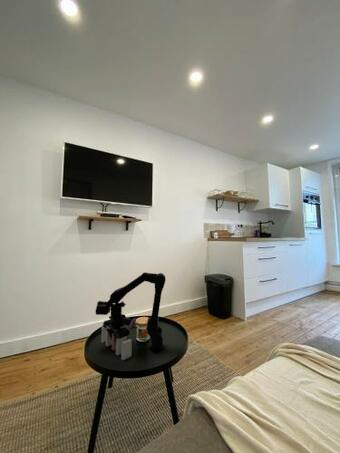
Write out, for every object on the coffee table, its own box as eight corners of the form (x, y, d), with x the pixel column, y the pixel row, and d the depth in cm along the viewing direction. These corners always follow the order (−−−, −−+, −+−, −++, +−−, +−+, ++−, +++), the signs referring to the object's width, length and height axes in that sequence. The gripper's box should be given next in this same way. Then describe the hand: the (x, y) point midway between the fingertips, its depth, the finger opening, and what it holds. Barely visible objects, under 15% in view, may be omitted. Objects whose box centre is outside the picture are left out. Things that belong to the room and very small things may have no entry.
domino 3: (121, 346, 111) (121, 331, 111) (113, 350, 107) (113, 334, 108) (119, 345, 112) (120, 330, 112) (111, 349, 108) (112, 333, 109)
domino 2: (115, 343, 114) (115, 328, 115) (107, 346, 111) (107, 331, 112) (113, 342, 115) (113, 327, 116) (105, 345, 112) (105, 330, 113)
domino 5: (131, 356, 102) (131, 340, 103) (122, 360, 99) (123, 343, 99) (129, 354, 103) (129, 338, 104) (121, 358, 100) (121, 342, 100)
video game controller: (145, 331, 133) (147, 319, 136) (142, 330, 129) (144, 318, 132) (131, 329, 135) (133, 317, 138) (128, 328, 131) (130, 316, 135)
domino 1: (110, 339, 118) (110, 325, 119) (102, 342, 115) (102, 328, 115) (109, 338, 119) (109, 324, 120) (101, 341, 116) (101, 327, 116)
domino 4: (125, 351, 106) (126, 336, 106) (117, 355, 103) (118, 339, 103) (124, 350, 107) (124, 335, 107) (115, 353, 104) (116, 338, 104)
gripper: (138, 315, 109) (138, 345, 108) (120, 306, 122) (120, 333, 122) (119, 321, 101) (119, 354, 100) (102, 311, 115) (102, 339, 114)
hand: (115, 344), depth 109 cm, fingers open, 4 cm apart
